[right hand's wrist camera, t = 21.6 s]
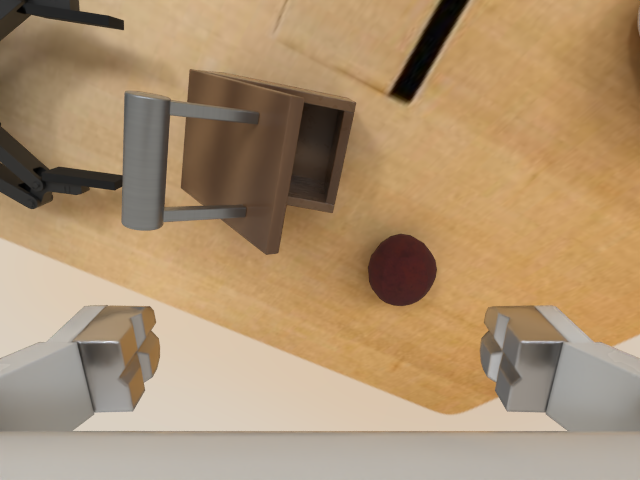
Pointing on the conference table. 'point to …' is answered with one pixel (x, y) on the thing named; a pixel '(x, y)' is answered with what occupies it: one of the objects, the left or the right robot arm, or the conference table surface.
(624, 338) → the conference table surface
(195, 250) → the conference table surface
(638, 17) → the white lobed housing
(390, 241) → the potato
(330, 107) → the chest
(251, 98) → the lid
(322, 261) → the conference table surface
